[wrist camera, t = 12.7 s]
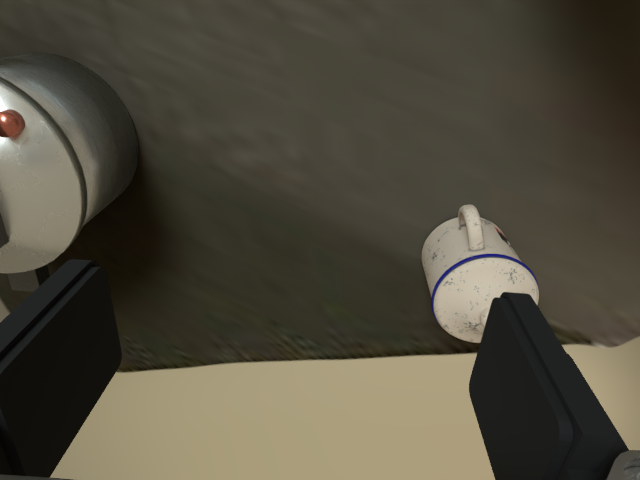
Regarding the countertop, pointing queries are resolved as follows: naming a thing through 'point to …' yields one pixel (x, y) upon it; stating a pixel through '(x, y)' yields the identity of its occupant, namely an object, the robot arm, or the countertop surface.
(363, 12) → the countertop surface
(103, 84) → the pot
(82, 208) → the lid
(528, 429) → the robot arm
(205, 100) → the countertop surface
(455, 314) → the teacup with lid
